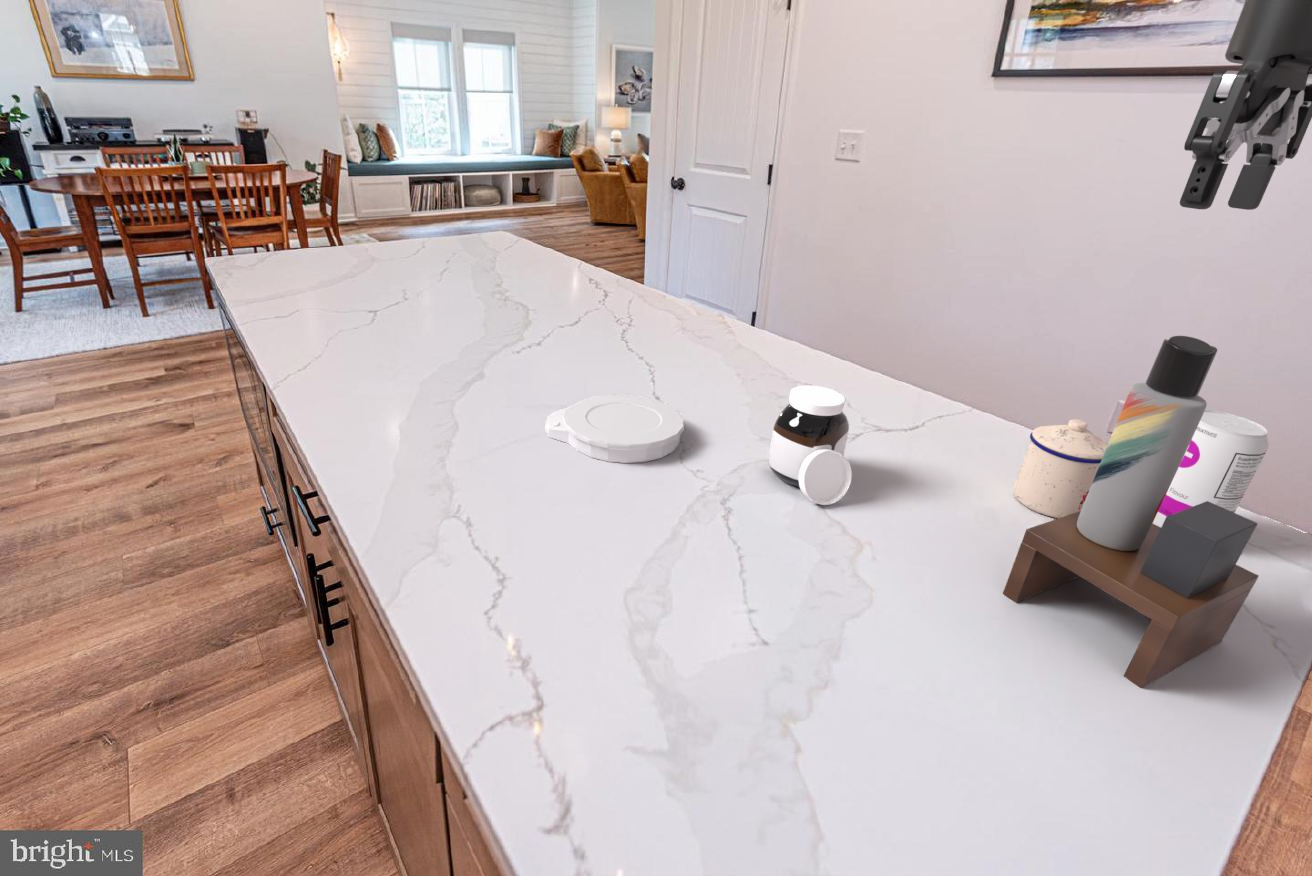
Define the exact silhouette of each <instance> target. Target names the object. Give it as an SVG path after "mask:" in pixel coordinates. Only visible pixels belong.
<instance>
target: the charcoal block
mask: <svg viewBox="0 0 1312 876" xmlns="http://www.w3.org/2000/svg"><path fill="white" fill-rule="evenodd" d="M1257 526H1258V522H1257V521H1254V520H1251V519H1249V518H1247V517H1245V516H1242V515H1240V514H1238V513H1236V512H1235V513H1233V512H1231V511H1229V510H1227V509H1224V508H1222V507H1220V506H1218V505H1215V504H1213V503H1211V502H1208V501H1206V502H1204V503H1201V504H1198V505H1196V506H1193V507H1191V508H1188V509H1185V510H1183V511H1180V512H1178V513H1175V514H1172V515H1170V516H1167V517H1166V519H1165V521H1164V523H1163V525H1162V527H1161V529H1160V531H1159V534H1158V536H1157V538H1156V540H1155V542H1154V544H1153V546H1152V548H1151V551H1150V553H1149V555H1148V557H1147V559H1146V561H1145V563H1144V565H1143V568H1142V570H1141V573H1142V574H1144V575H1146V576H1148V577H1149V578H1151V579H1153V580H1155V581H1157V582H1158V583H1160V584H1162V585H1164V586H1166V587H1168V588H1169V589H1171V590H1173V591H1175V592H1177V593H1178V594H1180V595H1182V596H1184V597H1186V598H1190V597H1192V596H1194V595H1196V594H1198V593H1200V592H1202V591H1204V590H1206V589H1208V588H1210V587H1212V586H1214V585H1216V584H1218V583H1220V582H1222V581H1224V580H1226V579H1228V578H1229V576H1230V574H1231V572H1232V570H1233V568H1234V567H1235V565H1237V563H1238V562H1239V559H1240V557H1241V555H1242V553H1243V552H1244V550H1245V548H1246V546H1247V545H1248V543H1249V540H1250V539H1251V537H1252V535H1253V534H1254V532H1255V530H1256V528H1257Z"/></svg>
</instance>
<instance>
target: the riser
mask: <svg viewBox="0 0 1312 876" xmlns="http://www.w3.org/2000/svg"><path fill="white" fill-rule="evenodd" d="M1080 512H1081V511H1079V512H1076V513H1073V514H1070V515H1067V516H1064V517H1061V518H1055V519H1053V520H1049V521H1046V522H1044V523H1041V524H1038V525H1035V526H1032V527H1029V528H1026V530H1025V531H1024V535H1023V537H1022V540H1021V542H1020V545H1019V546H1020V547H1019V548H1018V551H1017V554H1016V557H1015V559H1014V561H1013V563H1012V564H1013V565H1012V567H1011V570H1010V573H1009V575H1008V579H1007V580H1006V583H1005V587H1004V589H1003V591H1002V595H1004V597H1005V596H1006V597H1007V598H1008V599H1010V600H1011V601H1012V602H1014V603H1019V602H1021V601H1024V600H1026V599H1029V598H1031V597H1034V596H1036V595H1039V594H1041V593H1044V592H1046V591H1049V590H1050V589H1053V588H1055V587H1056V588H1057V587H1058V586H1061V585H1063V584H1066V583H1067V582H1070V581H1072V580H1075V579H1077V578H1082V579H1083V580H1085V581H1087V582H1089V583H1090V584H1091V585H1094V586H1095V587H1096V588H1099V589H1100V590H1101V591H1104V592H1105V593H1107V594H1109V595H1110V596H1112V597H1114V598H1115V599H1117V600H1118V601H1119V602H1122V603H1123V604H1125V605H1126V606H1129V607H1130V608H1132V609H1133V610H1135V611H1137V612H1138V613H1140V614H1142V615H1143V616H1144V617H1145V616H1146V618H1149V619H1150V621H1149V624H1148V626H1147V628H1146V630H1145V632H1144V634H1143V636H1142V638H1141V640H1140V642H1139V644H1138V646H1137V648H1136V650H1135V652H1134V654H1133V656H1132V657H1131V660H1130V662H1129V664H1128V666H1127V668H1126V670H1125V672H1124V674H1123V677H1124V678H1126V679H1127V680H1129V681H1130V682H1131V683H1133V684H1134V685H1136V686H1138V687H1139V688H1141V689H1142V688H1145V687H1146V686H1148V685H1149V684H1151V683H1153V682H1155V681H1156V680H1159V679H1160V678H1161V677H1163V676H1165V675H1167V674H1168V673H1170V672H1172V671H1173V670H1175V669H1177V668H1179V667H1180V666H1182V665H1184V664H1186V663H1188V662H1189V661H1191V660H1193V659H1195V658H1196V657H1198V656H1200V655H1202V654H1204V653H1205V652H1207V651H1209V650H1210V649H1212V648H1214V647H1215V646H1218V645H1219V644H1220V643H1222V642H1223V640H1224V638H1225V637H1226V635H1227V633H1228V631H1229V629H1231V626H1232V624H1233V622H1234V621H1235V619H1236V618H1237V615H1238V613H1239V612H1240V610H1241V609H1242V606H1244V603H1245V601H1246V599H1247V598H1248V596H1249V594H1250V593H1251V591H1252V589H1253V588H1254V586H1255V584H1256V582H1257V580H1258V578H1259V576H1260V575H1258V574H1256V573H1254V572H1252V571H1250V570H1248V569H1246V568H1244V567H1242V566H1240V565H1238V564H1236V565H1235V567H1234V568H1233V570H1232V572H1231V574H1230V576H1229V578H1228V579H1226V580H1224V581H1222V582H1220V583H1218V584H1216V585H1214V586H1212V587H1210V588H1208V589H1206V590H1204V591H1202V592H1200V593H1198V594H1196V595H1194V596H1192V597H1190V598H1186V597H1184V596H1182V595H1180V594H1178V593H1177V592H1175V591H1173V590H1171V589H1169V588H1168V587H1166V586H1164V585H1162V584H1160V583H1158V582H1157V581H1155V580H1153V579H1151V578H1149V577H1148V576H1146V575H1144V574H1142V573H1141V570H1142V568H1143V565H1144V563H1145V561H1146V559H1147V557H1148V555H1149V553H1150V551H1151V548H1152V546H1153V544H1154V542H1155V540H1156V538H1157V536H1158V534H1159V531H1160V529H1161V527H1159V526H1157V525H1155V524H1153V523H1152V526H1151V528H1150V530H1149V532H1148V534H1147V536H1146V538H1145V540H1144V542H1143V544H1142V545H1141V546H1140V548H1138V549H1136V550H1133V551H1120V550H1115V549H1111V548H1107V547H1104V546H1102V545H1099V544H1097V543H1095V542H1093V541H1091V540H1089V539H1088V538H1086V537H1085V536H1084V535H1082V534H1081V533H1080V531H1079V530H1078V528H1077V521H1078V518H1079V515H1080Z"/></svg>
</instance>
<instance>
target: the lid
mask: <svg viewBox="0 0 1312 876" xmlns="http://www.w3.org/2000/svg"><path fill="white" fill-rule="evenodd" d="M684 428H685V419H684V417H683V415H682V414H681V413H680V411H679V410H677V409H676V408H675V407H673V406H672V405H670V404H668V403H665V402H663V401H660V400H658V399H655V398H652V397H647V396H641V395H635V394H621V393H616V394H600V395H595V396H589V397H586V398H584V399H583V398H582V399H581V400H578V401H576V402H573V404H571V405H570V406H566V407H564V408H560V409H558V410H555V411H553V412H552V413H550V414H549V415H548V416H547V417H546V420H545V429H544V430H545V432H546V434H547V436H548V438H550V439H553V440H556V441H559V442H562V443H566V444H569V445H570V446H571V447H572V448H573V449H575V450H576V452H578V453H581V454H582V455H585V456H587V457H589V458H591V459H596V460H600V461H604V462H608V463H618V464H619V463H620V464H633V463H634V464H635V463H646V462H651V461H655V460H658V459H659V460H660V459H662V458H664V457H666V456H667V455H670V454H672V453H673V452H674V451H675V450H676V448H677V447H679V445H680V442H681V441H680V439H681V434H682V433H683V432H684V431H685V430H684Z"/></svg>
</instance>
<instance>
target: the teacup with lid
mask: <svg viewBox="0 0 1312 876" xmlns="http://www.w3.org/2000/svg"><path fill="white" fill-rule="evenodd" d="M1087 428H1088V424H1087V422H1085V420H1082V419H1078V418H1077V419H1076V418H1072V419H1070V420H1068V422H1067V423H1063V424H1056V425H1055V424H1045V425H1040V426H1038V427H1036V428H1034V429H1033V430H1032V431H1031V432H1030V434H1029V438H1030V441H1029V444H1028V446H1027V449H1026V452H1025V455H1024V459H1023V461H1022V463H1021V466H1020V470H1019V473H1018V474H1017V475H1018V476H1017V479H1016V481H1015V484H1014V487H1013V495H1014V498H1015V499H1016V500H1017V501H1018V502H1019V503H1020V504H1021V505H1023V506H1024V507H1026V508H1027V509H1029V510H1030V511H1034V512H1036V513H1038V514H1040V515H1043V516H1047V517H1050V518H1053V519H1054V518H1055V519H1058V518H1061V517H1064V516H1067V515H1070V514H1073V513H1076V512H1079V511H1081V510H1082V507H1083V505H1084V502H1085V500H1086V497H1087V495H1088V492H1089V490H1090V487H1091V485H1092V482H1093V480H1094V477H1095V475H1096V473H1097V470H1098V468H1099V465H1100V463H1101V460H1102V458H1103V455H1104V453H1105V450H1106V448H1107V445H1108V442H1107V441H1105V440H1104V439H1102V438H1100V437H1098V436H1097V435H1095V434H1094V433H1093V432H1091V431H1090V430H1089V429H1087Z"/></svg>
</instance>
